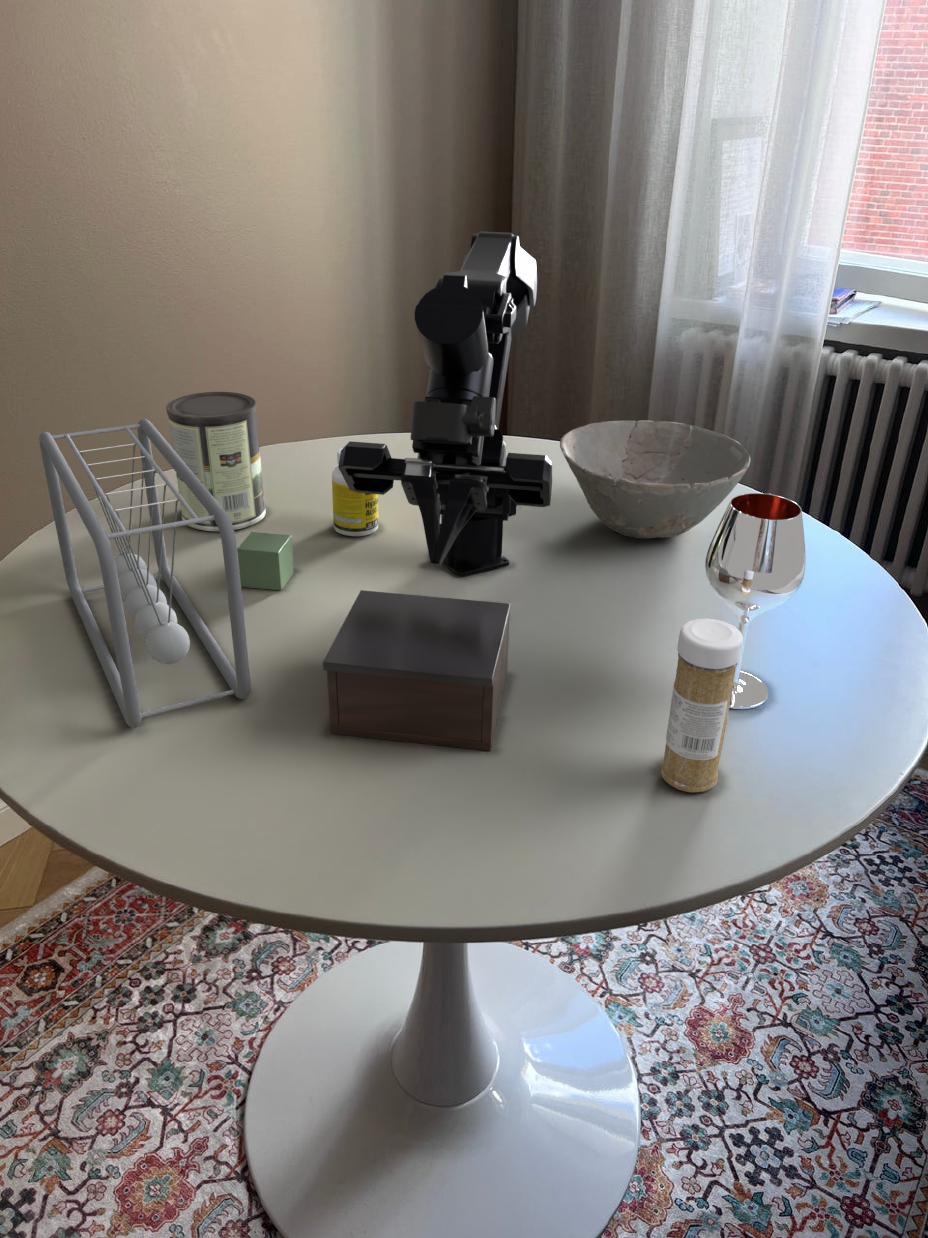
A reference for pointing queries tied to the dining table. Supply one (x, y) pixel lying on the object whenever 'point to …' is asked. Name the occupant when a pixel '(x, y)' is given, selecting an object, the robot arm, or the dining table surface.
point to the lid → (420, 638)
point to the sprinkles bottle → (700, 703)
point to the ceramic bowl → (653, 473)
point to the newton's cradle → (144, 570)
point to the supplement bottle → (352, 508)
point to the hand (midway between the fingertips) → (435, 564)
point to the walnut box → (417, 708)
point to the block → (265, 560)
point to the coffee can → (219, 454)
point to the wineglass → (756, 569)
